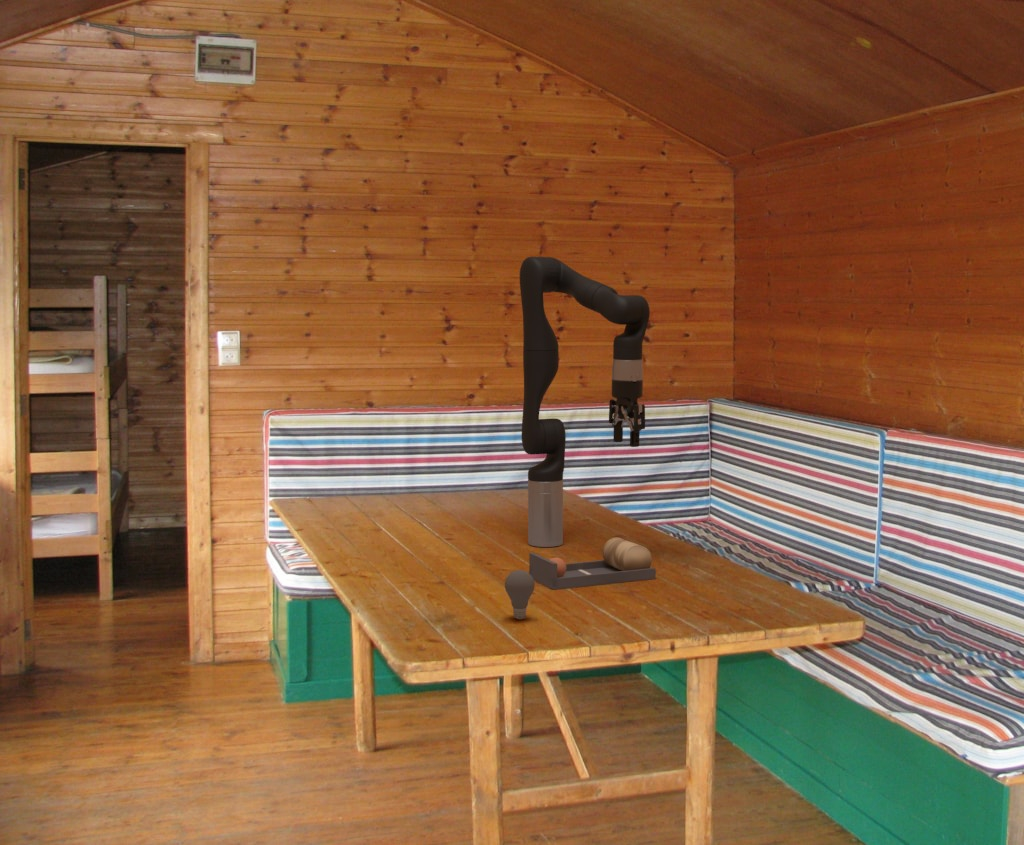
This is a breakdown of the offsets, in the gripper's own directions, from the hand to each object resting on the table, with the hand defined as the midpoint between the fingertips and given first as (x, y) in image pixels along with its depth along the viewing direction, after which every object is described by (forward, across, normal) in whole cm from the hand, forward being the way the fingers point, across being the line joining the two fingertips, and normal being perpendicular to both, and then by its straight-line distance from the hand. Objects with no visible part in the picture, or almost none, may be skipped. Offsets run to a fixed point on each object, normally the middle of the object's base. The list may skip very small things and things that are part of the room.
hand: (626, 444), depth 285 cm
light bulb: (+28, +40, -45) cm, 66 cm away
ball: (+25, +14, -22) cm, 36 cm away
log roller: (+29, +14, -7) cm, 33 cm away
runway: (+29, +14, -16) cm, 36 cm away
